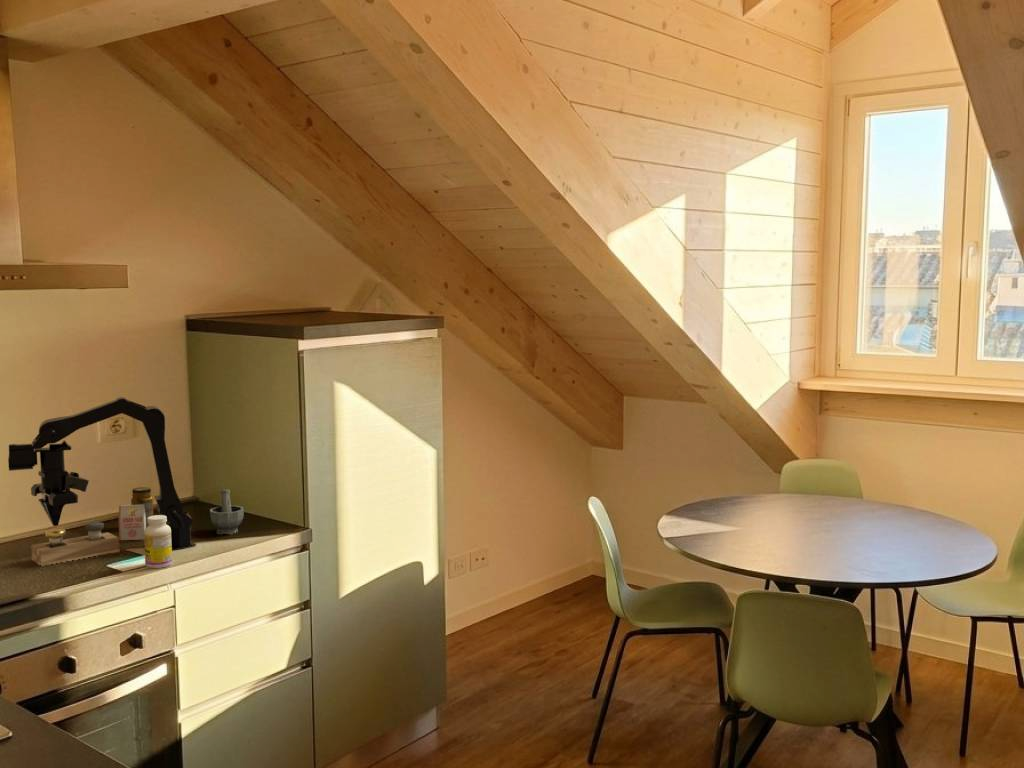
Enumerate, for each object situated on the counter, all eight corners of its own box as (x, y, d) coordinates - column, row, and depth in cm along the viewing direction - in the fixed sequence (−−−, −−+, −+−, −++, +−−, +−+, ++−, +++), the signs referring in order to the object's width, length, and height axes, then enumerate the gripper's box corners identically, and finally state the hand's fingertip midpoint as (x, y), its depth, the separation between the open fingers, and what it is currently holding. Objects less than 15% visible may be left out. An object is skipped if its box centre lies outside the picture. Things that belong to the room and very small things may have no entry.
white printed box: (121, 538, 279) (120, 504, 278) (146, 537, 281) (145, 503, 280) (119, 541, 276) (117, 507, 275) (144, 540, 277) (143, 506, 276)
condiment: (150, 524, 296) (149, 485, 295) (160, 529, 289) (159, 490, 288) (126, 527, 291) (124, 488, 290) (135, 533, 285) (134, 493, 284)
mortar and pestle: (245, 535, 283) (244, 494, 282) (211, 537, 280) (210, 496, 279) (242, 525, 294) (241, 486, 293) (209, 528, 291) (208, 488, 290)
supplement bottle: (144, 563, 255) (142, 515, 253) (171, 560, 257) (169, 513, 256) (145, 570, 249) (144, 521, 247) (173, 567, 251) (171, 518, 250)
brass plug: (68, 546, 257) (68, 531, 257) (49, 549, 254) (48, 534, 254) (62, 542, 261) (61, 527, 260) (43, 546, 257) (42, 530, 257)
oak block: (119, 552, 265) (118, 537, 264) (41, 566, 251) (40, 551, 251) (108, 546, 271) (107, 532, 270) (31, 559, 257) (31, 545, 257)
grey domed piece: (107, 539, 264) (106, 524, 263) (88, 542, 261) (88, 527, 260) (100, 536, 267) (100, 521, 267) (82, 539, 264) (81, 524, 264)
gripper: (97, 468, 254) (99, 527, 255) (72, 458, 267) (74, 514, 269) (52, 474, 246) (55, 534, 248) (29, 464, 260) (32, 521, 262)
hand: (55, 525), depth 257 cm, fingers closed
